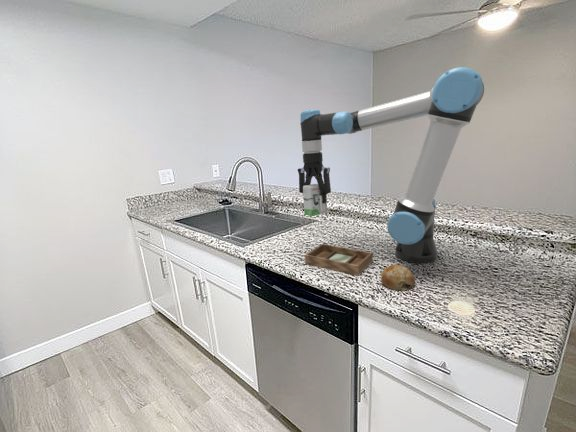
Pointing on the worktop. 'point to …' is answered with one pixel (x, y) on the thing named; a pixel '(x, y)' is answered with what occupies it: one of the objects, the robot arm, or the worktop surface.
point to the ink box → (312, 200)
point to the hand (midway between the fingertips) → (315, 210)
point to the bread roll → (397, 277)
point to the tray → (339, 259)
